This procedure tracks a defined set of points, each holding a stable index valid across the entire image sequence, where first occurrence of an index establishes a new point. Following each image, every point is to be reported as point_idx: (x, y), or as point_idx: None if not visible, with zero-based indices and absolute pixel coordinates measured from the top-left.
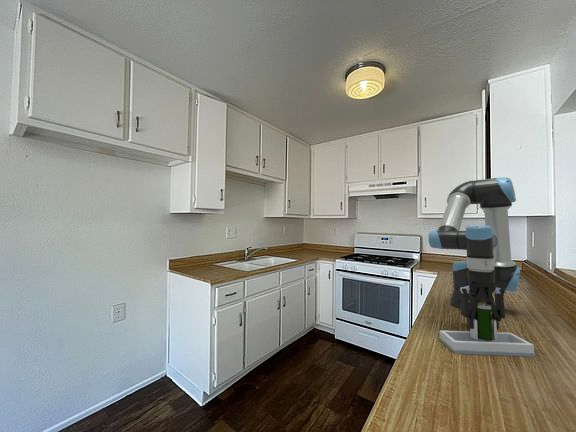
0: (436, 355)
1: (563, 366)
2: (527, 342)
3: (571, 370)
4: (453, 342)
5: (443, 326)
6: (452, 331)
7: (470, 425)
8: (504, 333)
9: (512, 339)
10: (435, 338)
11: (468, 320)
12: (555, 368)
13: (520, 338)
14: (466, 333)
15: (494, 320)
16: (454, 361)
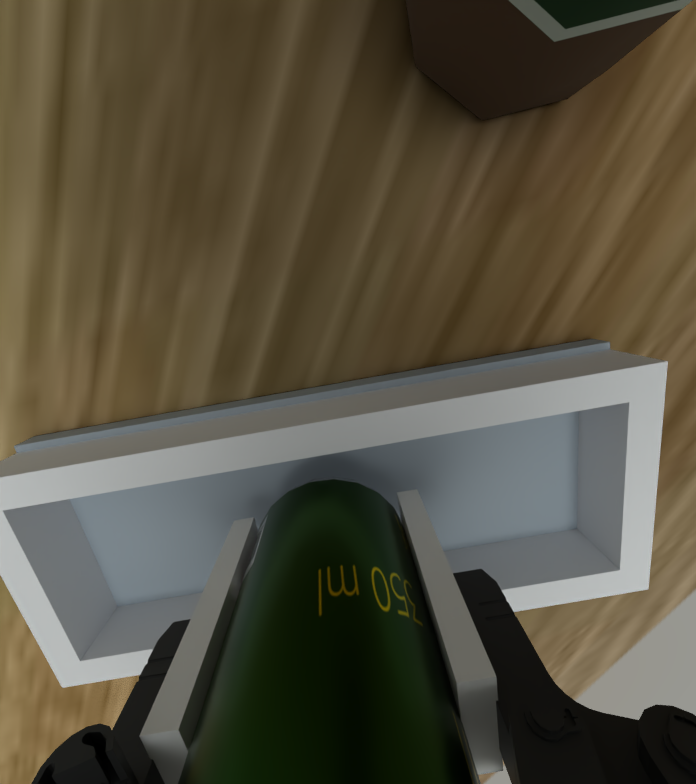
0: (5, 660)
1: (648, 603)
2: (638, 556)
3: (649, 631)
4: (63, 674)
5: (105, 27)
6: (80, 479)
7: None
8: (586, 402)
9: (598, 421)
10: (4, 415)
11: (124, 742)
12: (586, 632)
13: (647, 489)
14: (216, 470)
15: (485, 766)
16: (98, 693)
